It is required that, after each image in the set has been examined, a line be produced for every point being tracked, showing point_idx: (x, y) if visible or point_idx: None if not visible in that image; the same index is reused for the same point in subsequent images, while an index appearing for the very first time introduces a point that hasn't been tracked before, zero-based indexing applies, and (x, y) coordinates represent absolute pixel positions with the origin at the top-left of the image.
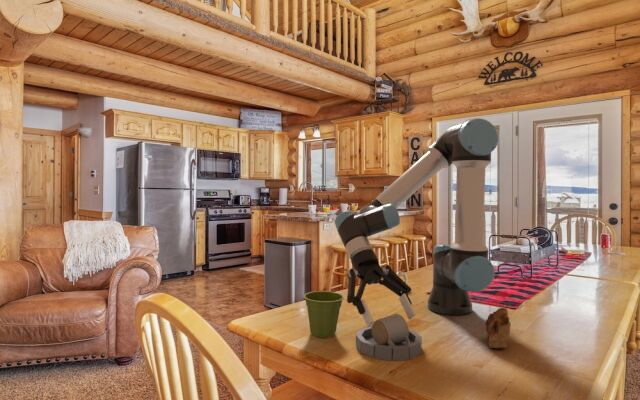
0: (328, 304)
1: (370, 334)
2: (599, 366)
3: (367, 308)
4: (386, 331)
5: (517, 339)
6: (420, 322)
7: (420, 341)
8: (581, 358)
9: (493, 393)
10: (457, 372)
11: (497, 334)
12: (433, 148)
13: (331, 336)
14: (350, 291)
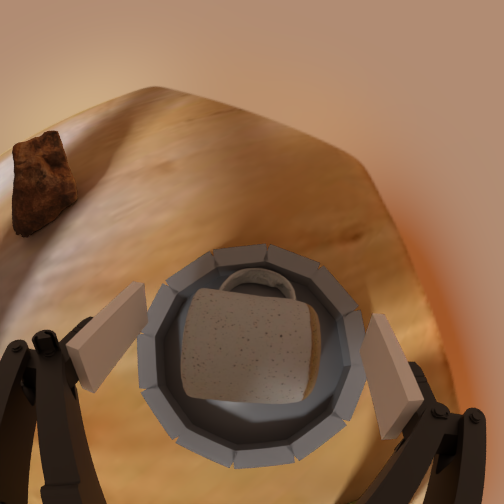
0: None
1: (254, 443)
2: (67, 118)
3: (395, 357)
4: (308, 305)
5: None
6: None
7: (199, 258)
8: None
9: (247, 112)
10: (228, 166)
11: (67, 164)
12: None
13: (355, 501)
14: (485, 447)
